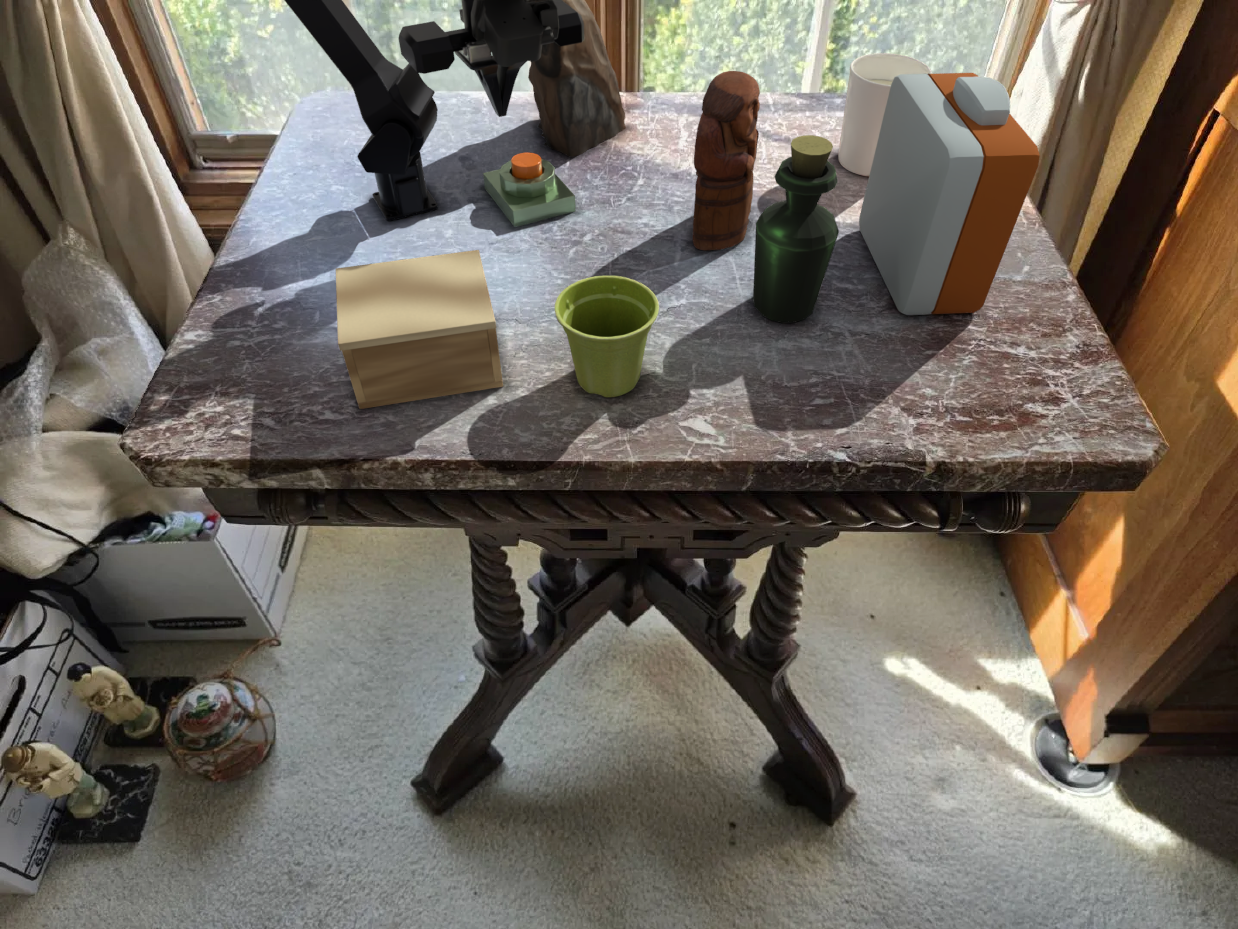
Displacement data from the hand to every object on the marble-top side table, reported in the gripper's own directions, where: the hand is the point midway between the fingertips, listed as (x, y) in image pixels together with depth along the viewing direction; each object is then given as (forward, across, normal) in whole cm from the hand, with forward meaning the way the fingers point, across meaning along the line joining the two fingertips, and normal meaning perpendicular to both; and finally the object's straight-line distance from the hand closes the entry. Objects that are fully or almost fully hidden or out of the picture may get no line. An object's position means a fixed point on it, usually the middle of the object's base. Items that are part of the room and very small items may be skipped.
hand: (500, 115), depth 95 cm
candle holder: (+12, +47, -11) cm, 50 cm away
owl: (+12, +16, +14) cm, 25 cm away
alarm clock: (+12, +35, -32) cm, 50 cm away
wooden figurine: (+12, +21, -15) cm, 28 cm away
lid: (+4, -19, -23) cm, 30 cm away
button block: (+12, +3, +1) cm, 12 cm away
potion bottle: (+12, +18, -31) cm, 38 cm away
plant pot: (+12, -4, -33) cm, 35 cm away
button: (+8, +3, +1) cm, 9 cm away
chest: (+12, -18, -22) cm, 31 cm away
